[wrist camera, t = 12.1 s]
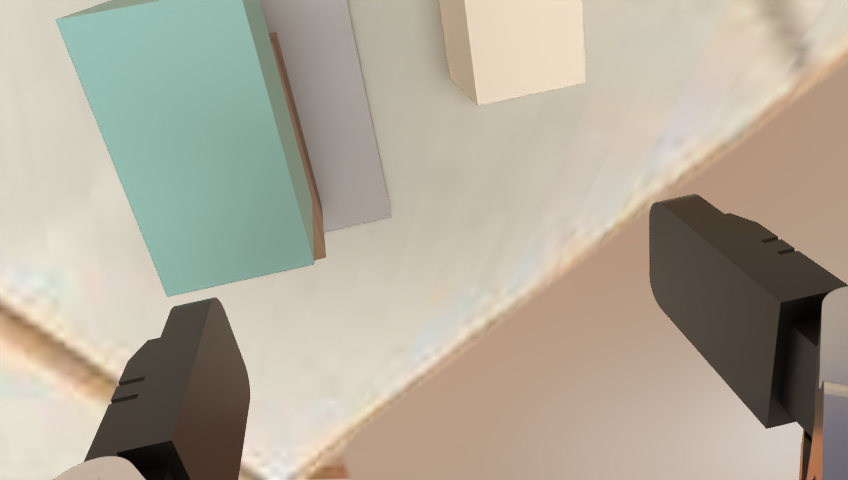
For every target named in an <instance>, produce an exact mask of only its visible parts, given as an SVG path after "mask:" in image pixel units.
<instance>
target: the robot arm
mask: <svg viewBox="0 0 848 480" xmlns="http://www.w3.org/2000/svg"><path fill="white" fill-rule="evenodd" d="M649 223H650V225H649V229H650V230H649V231H650V232H649V233H650V234H649V236H650V237H649V239H650V242H649V243H650V283H651V288H652V291H653V294H654V297H655V299H656V301H657V303H658V305H659V306H660V308H661V309H662V310H663V311H664V312H665V314H666V315H667V316H668V317H669V318H670V319H671V320H672V322H673V323H674V324H675V325H676V326H677V327H678V328H679V329H680V331H681V332H682V333H683V334H684V335H685V336H686V338H687V339H688V340H689V341H690V342H691V343H692V344H693V345H694V347H695V348H696V349H697V350H698V351H699V352H700V353H701V355H702V356H703V357H704V358H705V359H706V360H707V361H708V363H709V364H710V365H711V366H712V367H713V368H714V369H715V370H716V372H717V373H718V374H719V375H720V376H721V377H722V379H723V380H724V381H725V382H726V383H727V384H728V385H729V387H730V388H731V389H732V390H733V391H734V392H735V393H736V395H738V397H739V398H740V399H741V400H742V401H743V403H744V404H745V405H746V406H747V407H748V408H749V409H750V410H751V412H752V413H753V414H754V415H755V416H756V417H757V418H758V420H759V421H760V422H761V423H762V424H763V425H764V426H765V428H766V429H767V428H771V427H775V426H780V425H784V424H788V423H792V422H796V421H797V422H798V423H799V425H800V426H801V427H802V428H803V429H804V430H803V436H802V443H801V456H800V473H799V480H848V285H847V284H846V283H844V282H843V281H841V280H840V279H838V278H837V277H835V276H834V275H833V274H831V273H830V272H828V271H827V270H825V269H824V268H822V267H821V266H820V265H818V264H817V263H815V262H814V261H812V260H811V259H809V258H808V257H807V256H805V255H804V254H802V253H801V252H799V251H796V252H795V250H794V248H793V247H792V246H790V245H789V244H788V243H786V242H785V241H783V240H782V239H781V240H778V237H777V236H776V235H775V234H773V233H772V232H770V231H769V230H767V229H766V228H765V227H763V226H762V225H760V224H758V223H757V222H754V221H751V220H748V219H745V218H742V217H739V216H736V215H733V214H730V213H729V214H724V213H722V212H721V211H720V210H718V209H717V208H715V207H714V206H713V205H711V204H710V203H708V202H707V201H706V200H704V199H703V198H702V197H700V196H699V195H696V194H692V195H688V196H683V197H678V198H674V199H669V200H665V201H660V202H656V203H654V204H653V205H652V207H651V210H650V217H649ZM111 402H112V404H110V405H109V406H108V408H107V410H106V413H105V415H104V417H103V419H102V422H101V424H100V426H99V429H98V431H97V433H96V435H95V438H94V440H93V442H92V445H91V447H90V449H89V451H88V454H87V456H86V458H85V461H84V462H83V463H81V464H78V465H76V466H74V467H72V468H70V469H69V470H67V471H65V472H63V473H62V474H61V475H59V476H58V477H56V478H55V479H53V480H238V477H239V470H240V463H241V457H242V450H243V443H244V436H245V430H246V423H247V416H248V409H249V403H250V385H249V379H248V374H247V370H246V367H245V364H244V361H243V358H242V356H241V353H240V350H239V348H238V345H237V342H236V340H235V337H234V334H233V332H232V329H231V326H230V324H229V321H228V318H227V316H226V313H225V310H224V308H223V306H222V304H221V302H220V301H219V300H218V299H217V298H211V299H206V300H202V301H197V302H192V303H188V304H183V305H179V306H175V307H173V308H172V309H171V311H170V314H169V317H168V319H167V322H166V324H165V327H164V330H163V332H162V335H161V337H160V338H156V339H152V340H148V341H147V342H146V343H145V344H144V345H143V346H142V347H141V348H140V349H139V350H138V351H137V352H136V353H135V354H134V355H133V357H132V358H131V359H130V360H129V361H128V362H127V365H126V367H125V369H124V372H123V374H122V376H121V378H120V381H119V386H118V387H117V388H116V390H115V392H114V394H113V397H112V399H111Z"/></svg>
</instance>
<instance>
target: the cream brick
mask: <svg viewBox="0 0 848 480" xmlns="http://www.w3.org/2000/svg"><path fill="white" fill-rule="evenodd" d="M439 6H440V13H441V20H442V26H443V33H444V40H445V47H446V54H447V61H448V67H449V74H450V79H451V80H452V81H453V82H454V83H455V84H456V85H457V86H458V87H459V88H460V89H461V90H462V91H463V92H464V93H465V94H466V95H467V96H468V97H469V98H470V99H471V100H473V101H474V102H475V103H476V104H477V105H478V106H479V105H484V104H488V103H493V102H498V101H502V100H507V99H512V98H517V97H521V96H526V95H531V94H535V93H540V92H545V91H549V90H554V89H559V88H564V87H568V86H573V85H578V84H582V83H586V71H585V50H584V30H583V10H582V0H439Z"/></svg>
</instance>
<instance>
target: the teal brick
mask: <svg viewBox="0 0 848 480" xmlns="http://www.w3.org/2000/svg"><path fill="white" fill-rule="evenodd" d="M56 22H57V25H58V27H59V30H60V32H61V35H62V37H63V40H64V42H65V45H66V47H67V49H68V52H69V54H70V57H71V59H72V62H73V64H74V67H75V69H76V72H77V74H78V77H79V79H80V82H81V84H82V87H83V89H84V92H85V94H86V97H87V99H88V102H89V104H90V106H91V109H92V111H93V114H94V116H95V119H96V121H97V124H98V126H99V129H100V131H101V134H102V136H103V139H104V141H105V144H106V146H107V149H108V151H109V154H110V156H111V159H112V161H113V164H114V166H115V168H116V171H117V173H118V176H119V178H120V181H121V183H122V186H123V188H124V191H125V193H126V196H127V198H128V201H129V203H130V206H131V208H132V211H133V213H134V216H135V218H136V221H137V223H138V225H139V228H140V230H141V233H142V235H143V238H144V240H145V243H146V245H147V248H148V250H149V253H150V255H151V258H152V260H153V263H154V265H155V268H156V270H157V273H158V275H159V278H160V280H161V282H162V285H163V287H164V290H165V292H166V295H167V297H170V296H174V295H179V294H183V293H188V292H192V291H197V290H201V289H206V288H210V287H215V286H219V285H223V284H228V283H232V282H237V281H241V280H246V279H250V278H255V277H259V276H264V275H268V274H273V273H277V272H282V271H286V270H291V269H295V268H300V267H304V266H309V265H313V264H314V243H313V217H312V198H311V194H310V191H309V187H308V183H307V179H306V175H305V171H304V168H303V164H302V160H301V156H300V152H299V148H298V145H297V141H296V137H295V133H294V129H293V125H292V122H291V118H290V114H289V110H288V106H287V102H286V99H285V95H284V91H283V87H282V83H281V79H280V75H279V72H278V68H277V64H276V60H275V56H274V52H273V49H272V45H271V41H270V37H269V33H268V29H267V26H266V22H265V18H264V14H263V10H262V6H261V3H260V0H111V1H108V2H105V3H102V4H100V5H97V6H94V7H91V8H88V9H85V10H82V11H80V12H77V13H74V14H71V15H68V16H65V17H62V18H60V19H57V20H56Z"/></svg>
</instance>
